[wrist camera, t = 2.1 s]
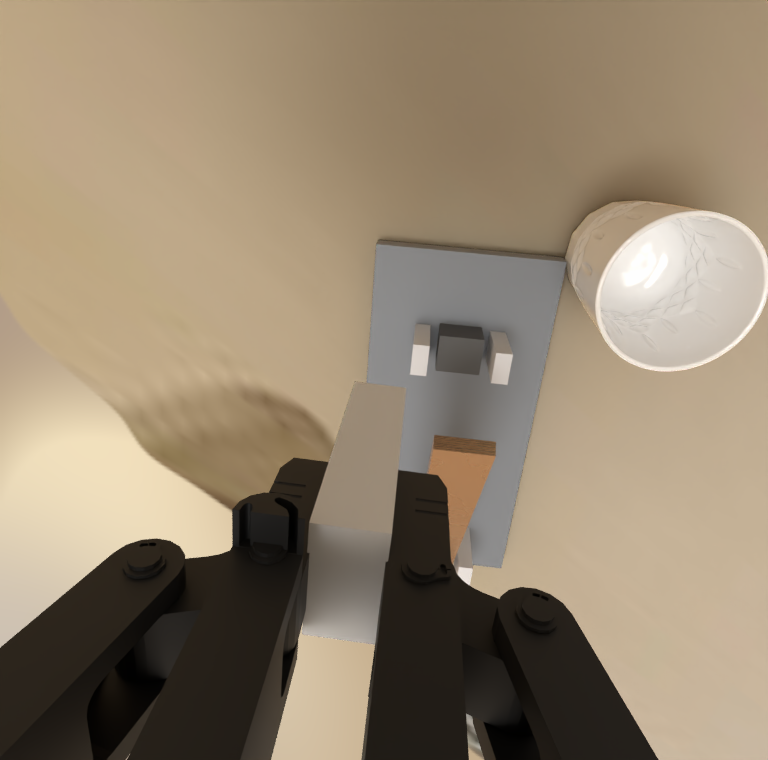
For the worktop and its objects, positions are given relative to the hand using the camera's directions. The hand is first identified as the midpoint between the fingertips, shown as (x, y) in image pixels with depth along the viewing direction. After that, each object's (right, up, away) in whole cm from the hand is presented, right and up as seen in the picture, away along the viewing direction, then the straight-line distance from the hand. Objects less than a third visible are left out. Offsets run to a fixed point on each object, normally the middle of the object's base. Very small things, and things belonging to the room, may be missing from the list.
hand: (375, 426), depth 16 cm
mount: (+5, -1, +25) cm, 25 cm away
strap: (+4, -7, +18) cm, 20 cm away
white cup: (+15, +10, +19) cm, 27 cm away
